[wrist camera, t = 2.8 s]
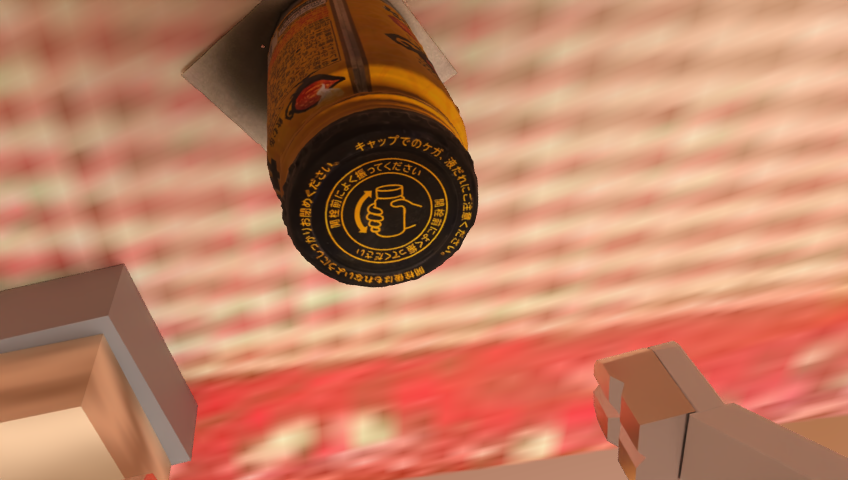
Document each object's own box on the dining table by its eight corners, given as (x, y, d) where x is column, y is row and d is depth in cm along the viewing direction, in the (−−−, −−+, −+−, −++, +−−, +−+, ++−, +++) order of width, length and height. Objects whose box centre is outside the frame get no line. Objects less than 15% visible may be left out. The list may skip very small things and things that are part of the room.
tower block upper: (-124, 377, 26) (-179, 459, 23) (103, 333, 27) (80, 406, 24) (-17, 503, 32) (-49, 584, 29) (171, 463, 33) (160, 537, 29)
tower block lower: (-97, 308, 29) (-142, 372, 26) (125, 259, 30) (108, 315, 27) (14, 444, 35) (-12, 510, 32) (198, 400, 36) (191, 460, 33)
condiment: (456, 71, 28) (555, 220, 18) (308, 189, 30) (326, 383, 20) (344, -76, 24) (395, 15, 14) (181, 71, 26) (127, 242, 16)
